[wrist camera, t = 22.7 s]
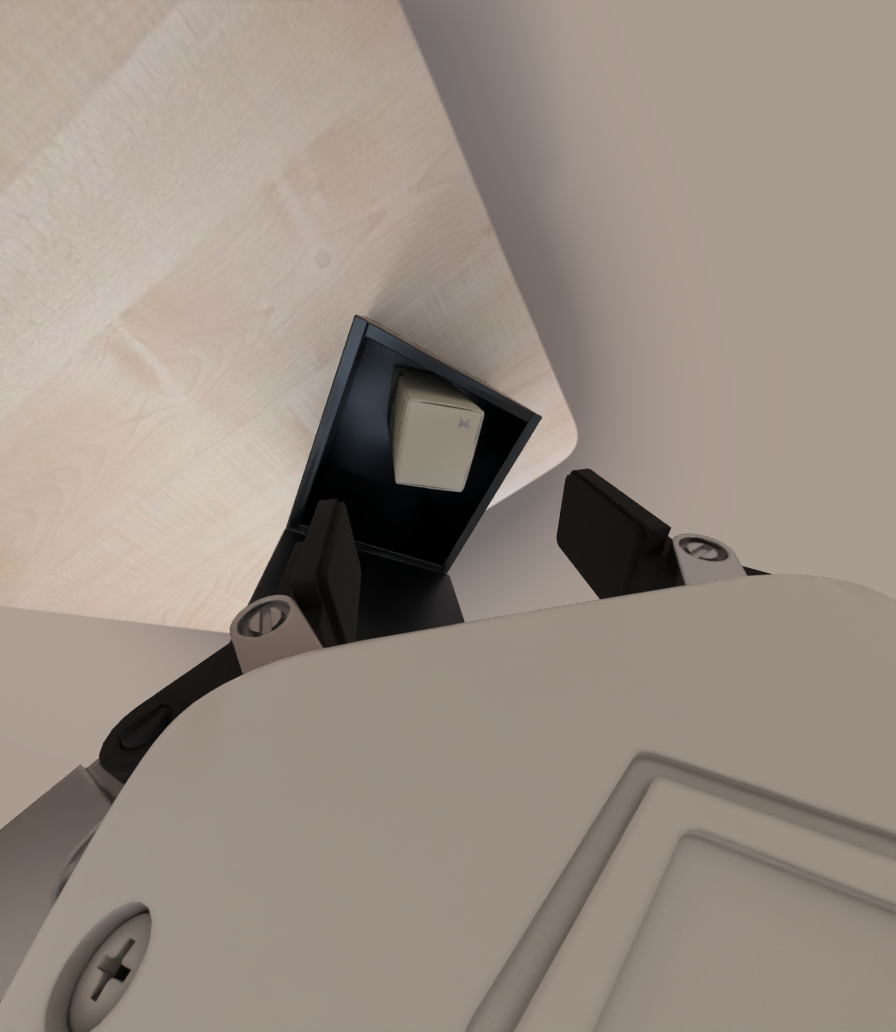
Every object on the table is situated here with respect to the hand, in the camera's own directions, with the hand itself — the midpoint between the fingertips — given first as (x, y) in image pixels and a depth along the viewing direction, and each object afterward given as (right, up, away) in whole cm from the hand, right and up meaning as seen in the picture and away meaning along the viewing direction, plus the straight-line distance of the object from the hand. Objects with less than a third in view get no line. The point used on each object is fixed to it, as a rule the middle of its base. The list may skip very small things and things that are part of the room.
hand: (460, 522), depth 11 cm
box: (-4, +11, +18) cm, 21 cm away
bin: (-5, +9, +19) cm, 22 cm away
